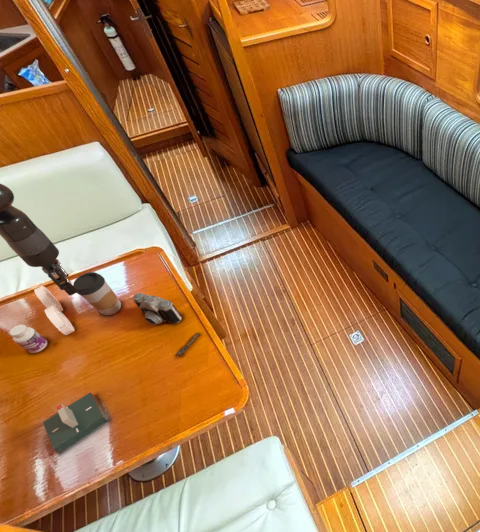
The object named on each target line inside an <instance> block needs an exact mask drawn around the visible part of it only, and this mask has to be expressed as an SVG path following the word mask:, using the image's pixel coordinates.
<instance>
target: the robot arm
mask: <svg viewBox="0 0 480 532" xmlns="http://www.w3.org/2000/svg"><path fill="white" fill-rule="evenodd" d="M14 201H15V194H14V192H13V191H12V189H10V188H9V187H8V186H6V185H5V184H3V183H0V237H1V238H2V239H3V240H4V241H5V242H6V243H7V245H8V246H9V248H10V249H11V250H12V252H14V253H15V254H16V255H17V256H18V257H19V258H20V259H21V260H22V261H23V262H24V263H25V264H26V265H27V266H29V267H32V268H40V267H41V270H42V272H43V273H44V274H46V275H47V277H48V278H49V279H50V280H51V281H52V282H53V283H54V284H55V285H56V286H57V287H58V288H59V290H60V291H65V293H66V294H67V295H68V296H73V295H76V294H77V292H78V291H77V289H76V288H75V287H74V286H73V284H72V282H71V281H70V279H69V278H68V277H69V273H68V272H67V271H66V270H65V268H63V267H62V264H61V262H60V260H59V259H58V256H59V254H60V251H59V248H58V247H56V245H55V244H54V243H53V242H52V240H51V239H50V238H49V237H48V236H47V235H46V233H44V232H43V230H42V229H40V228H39V227H38V226H37V225H36V224H35V223H34V222H33V221H32V219H31V218H30V217H29V216H28V215H27V214H26V213H25V212H24V211H22V210H21V209H20V208H17V207H15V206H13V203H14Z"/></svg>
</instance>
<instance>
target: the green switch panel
mask: <svg viewBox="0 0 480 532" xmlns="http://www.w3.org/2000/svg"><path fill="white" fill-rule="evenodd" d="M66 407H67V408H69V409H70V410H72V412H73V414H74V416H75V418H76V421H77V423H78V425H77V426H75V427H74V428H72V427H70V426H68V425H67V424H65V423H63V422H62V420H61V418H60V416H59V413H58V412H57V413H55V414H53V415H52V416H50V417H49V418H47V419H44V421H42V425H43V426H44V430H45V431H46V435H47V436H48V439H49V441H50V444H51V446H52V448H53V450H54V451H56V452H58V453H63V452H64V451H66V450H67V449H69V448H70V447H71V446H73V445H75V444H77V443H78V442H79V441H80V440H82V439H83V438H84V437H86V436H89V434H91V433H93V432H94V431H96V430H97V429H98V428H100V427H101V426H102V425H104V424H106V423H107V422H109V420H108V418H107V416H106V414H105V412H104V409H103V408H102V406H101V403H100V402H99V400H98V398H97V396H96V395H94V394H93V393H92V392H88V393H86V394H85V395H83V396H81V397H80V398H78V399H77V400H75V401H74V402H72V403H71V404H70V405H67V406H66Z"/></svg>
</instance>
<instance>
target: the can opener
mask: <svg viewBox="0 0 480 532" xmlns="http://www.w3.org/2000/svg"><path fill="white" fill-rule="evenodd" d="M199 335H200V334H199V333H198V332H196V333H195V334H194V335H193V336H192V337H191V339H190V340H189V341H188V342H187V343H186V344H185V346H184V347H182V348H180V349H179V350H178V351H177V353H176V356H180V357H181V356H182V355H183V353H186V352H187V350H188V348H189V347H190V346H191V345H192V344H193V342H195V341H196V340H197V338H198V337H199Z"/></svg>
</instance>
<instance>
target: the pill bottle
mask: <svg viewBox="0 0 480 532" xmlns="http://www.w3.org/2000/svg"><path fill="white" fill-rule="evenodd" d="M9 335H10V336H11V337H12V339H13V341H14V342H15V343H16V344H18V345H19V346H20V347H21V348H23V349H24V350H26V352H28V353H31V354H35V353H36V354H37V353H39V352H42V350H44V349H45V348H46V347H47V346H48V340H47V339H46V338H45V337H44V336H43V335H42V334H40V333H39V332H38V331H37V330H36V329H35V328H33V327H29V326H26V325H25V324H23V323H21V324H17V325H15V326H13V327H11V329H10V330H9Z"/></svg>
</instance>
